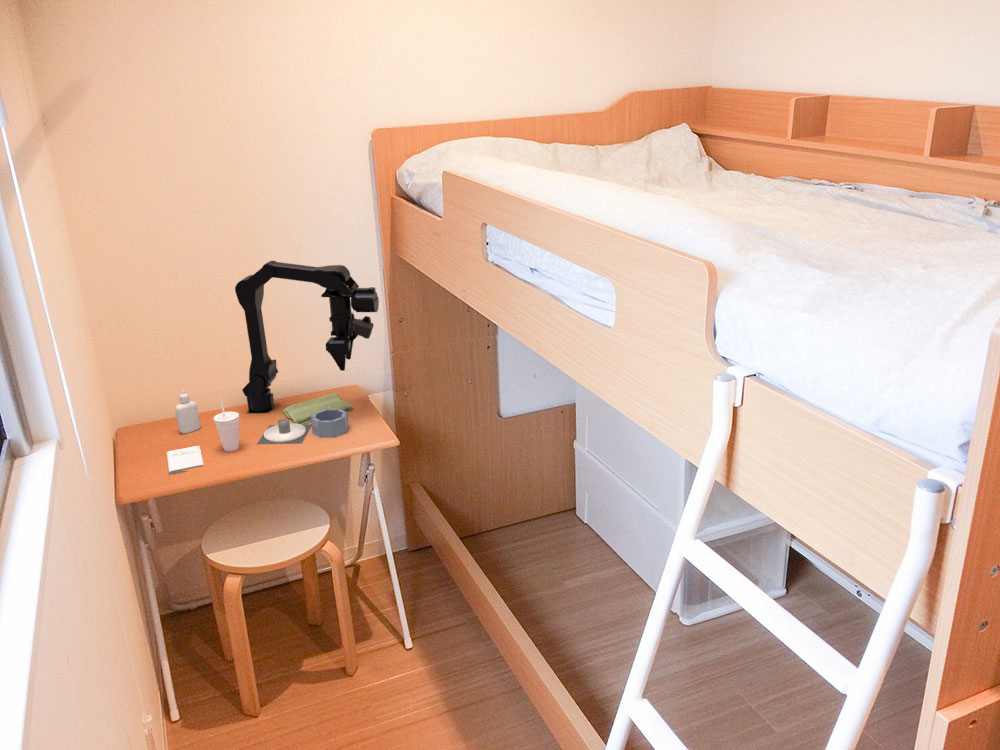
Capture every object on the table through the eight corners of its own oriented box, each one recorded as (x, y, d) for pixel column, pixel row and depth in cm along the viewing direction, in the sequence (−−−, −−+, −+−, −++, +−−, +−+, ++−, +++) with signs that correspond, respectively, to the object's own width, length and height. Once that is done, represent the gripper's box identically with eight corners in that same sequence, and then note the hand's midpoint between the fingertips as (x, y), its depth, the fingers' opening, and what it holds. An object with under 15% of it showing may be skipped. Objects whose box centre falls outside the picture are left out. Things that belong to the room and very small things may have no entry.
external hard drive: (170, 477, 197) (167, 456, 208) (204, 470, 200) (200, 450, 211) (168, 471, 197) (166, 451, 207) (203, 464, 200) (199, 444, 211)
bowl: (310, 439, 214) (308, 422, 212) (318, 425, 223) (316, 408, 221) (344, 438, 214) (342, 421, 212) (350, 424, 222) (349, 408, 221)
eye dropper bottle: (179, 428, 223) (172, 388, 219) (201, 425, 225) (194, 386, 220) (179, 434, 219) (171, 394, 215) (200, 431, 221) (193, 391, 216)
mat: (256, 446, 211) (256, 444, 211) (269, 427, 222) (269, 425, 222) (301, 445, 211) (301, 443, 211) (312, 426, 222) (312, 424, 222)
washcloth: (280, 414, 231) (279, 404, 230) (337, 400, 240) (336, 390, 239) (296, 430, 221) (295, 419, 220) (355, 414, 230) (354, 403, 229)
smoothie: (215, 449, 210) (206, 400, 205) (238, 442, 214) (230, 394, 209) (224, 457, 205) (216, 407, 200) (248, 450, 209) (240, 400, 204)
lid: (258, 443, 211) (257, 430, 210) (270, 425, 222) (268, 413, 220) (300, 442, 211) (298, 429, 210) (310, 425, 221) (308, 412, 220)
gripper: (364, 321, 212) (369, 376, 218) (375, 302, 230) (378, 353, 235) (322, 322, 212) (328, 376, 218) (336, 302, 230) (341, 354, 235)
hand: (345, 364), depth 226 cm, fingers open, 9 cm apart
